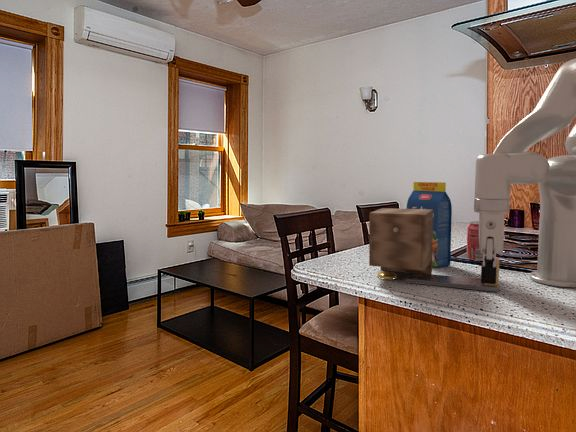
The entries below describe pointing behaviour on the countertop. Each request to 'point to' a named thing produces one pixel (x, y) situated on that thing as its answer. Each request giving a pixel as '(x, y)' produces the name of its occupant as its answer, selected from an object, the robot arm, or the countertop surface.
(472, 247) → the soda can
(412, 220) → the walnut cabinet
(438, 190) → the blue food package
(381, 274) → the brass token
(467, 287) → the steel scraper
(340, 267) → the countertop surface
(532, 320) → the countertop surface
